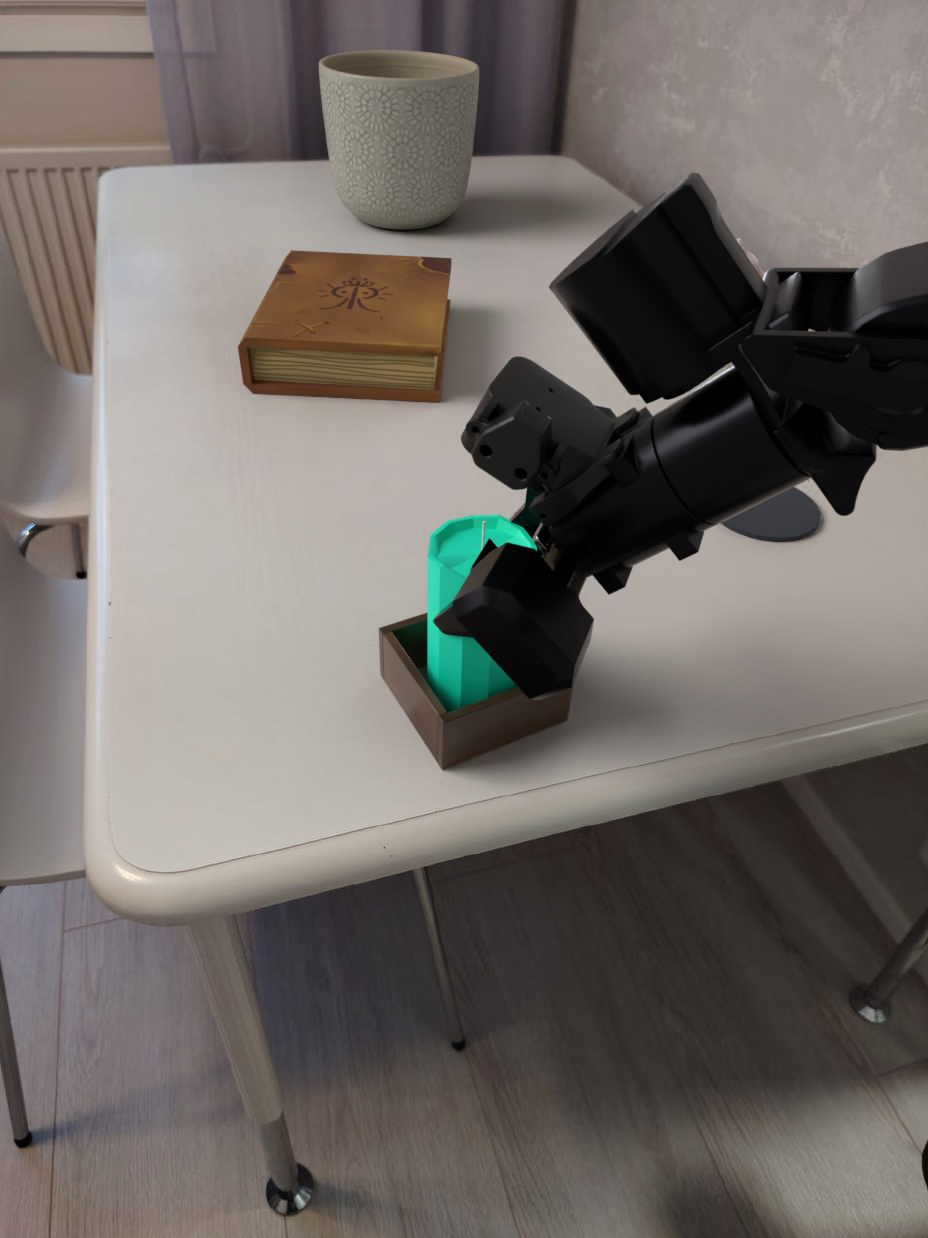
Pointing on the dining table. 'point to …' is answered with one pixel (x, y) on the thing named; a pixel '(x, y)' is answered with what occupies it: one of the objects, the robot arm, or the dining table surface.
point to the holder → (468, 725)
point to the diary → (350, 328)
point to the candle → (453, 548)
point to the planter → (399, 133)
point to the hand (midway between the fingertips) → (456, 596)
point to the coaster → (778, 518)
